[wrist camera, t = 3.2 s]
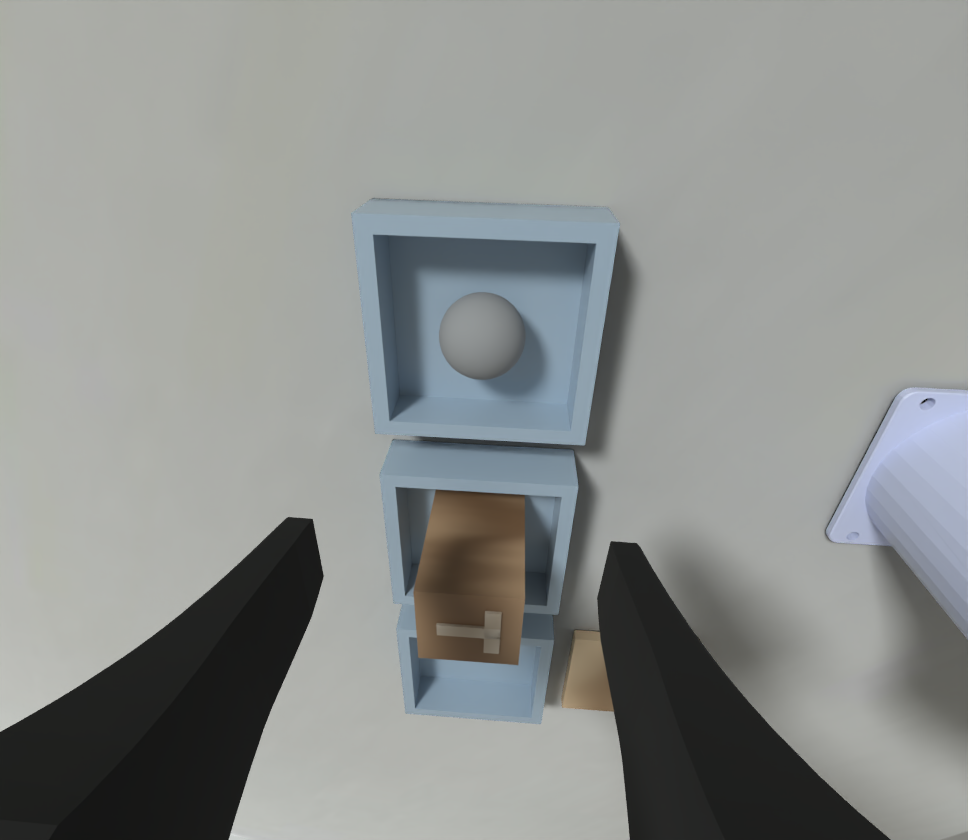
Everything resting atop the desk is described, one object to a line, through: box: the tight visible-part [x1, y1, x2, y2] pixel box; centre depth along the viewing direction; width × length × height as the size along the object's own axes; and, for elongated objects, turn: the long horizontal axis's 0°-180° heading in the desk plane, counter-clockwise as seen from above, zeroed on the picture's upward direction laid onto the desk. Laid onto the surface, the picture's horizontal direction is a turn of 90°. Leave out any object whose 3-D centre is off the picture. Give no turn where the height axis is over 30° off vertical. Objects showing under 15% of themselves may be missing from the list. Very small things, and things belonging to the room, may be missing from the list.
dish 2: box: [380, 439, 578, 615], centre depth 24 cm, size 8×8×2 cm
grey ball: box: [439, 292, 526, 380], centre depth 18 cm, size 3×3×3 cm
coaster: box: [561, 630, 700, 712], centre depth 31 cm, size 7×7×1 cm
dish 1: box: [351, 198, 620, 445], centre depth 19 cm, size 8×8×2 cm
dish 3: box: [396, 604, 554, 724], centre depth 29 cm, size 8×8×2 cm
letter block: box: [413, 489, 525, 665], centre depth 22 cm, size 4×4×6 cm
